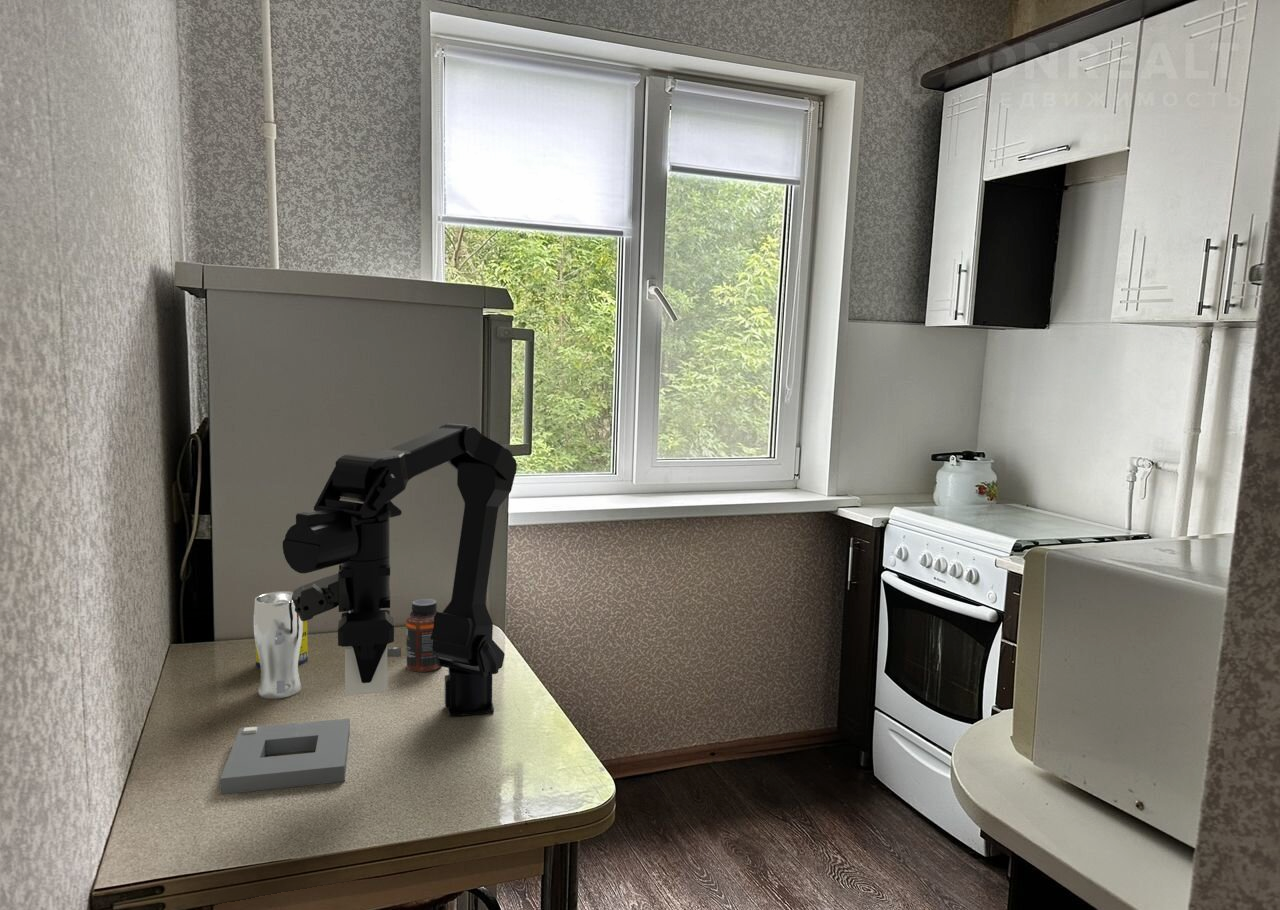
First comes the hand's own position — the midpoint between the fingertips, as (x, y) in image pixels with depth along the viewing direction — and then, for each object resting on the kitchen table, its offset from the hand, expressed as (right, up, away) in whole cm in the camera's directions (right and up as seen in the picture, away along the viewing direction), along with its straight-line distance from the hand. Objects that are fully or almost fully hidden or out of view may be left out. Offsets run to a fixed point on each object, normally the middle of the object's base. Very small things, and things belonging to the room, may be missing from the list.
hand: (366, 676), depth 107 cm
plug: (0, -2, 0) cm, 2 cm away
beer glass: (-21, -9, +24) cm, 34 cm away
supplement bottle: (-2, -8, +36) cm, 37 cm away
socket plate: (-11, -12, +3) cm, 16 cm away
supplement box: (-26, -7, +36) cm, 44 cm away
